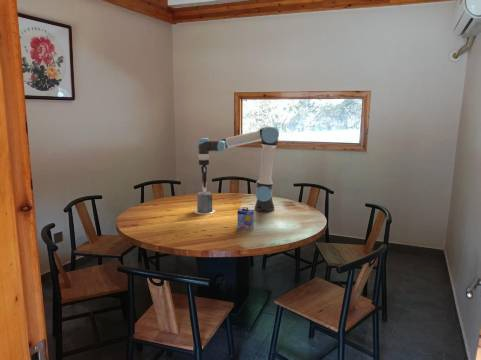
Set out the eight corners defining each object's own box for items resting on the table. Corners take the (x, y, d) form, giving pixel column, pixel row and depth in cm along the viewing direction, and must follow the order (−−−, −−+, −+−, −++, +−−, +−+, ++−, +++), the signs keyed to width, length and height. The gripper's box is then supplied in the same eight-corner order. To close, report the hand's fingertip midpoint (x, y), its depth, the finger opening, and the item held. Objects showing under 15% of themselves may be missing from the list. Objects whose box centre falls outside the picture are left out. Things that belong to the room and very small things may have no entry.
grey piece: (211, 208, 285) (211, 190, 283) (212, 213, 271) (212, 194, 269) (196, 208, 283) (196, 190, 281) (197, 213, 270) (197, 194, 267)
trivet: (214, 209, 285) (214, 208, 285) (216, 214, 270) (216, 213, 270) (193, 210, 283) (193, 209, 283) (194, 215, 267) (194, 214, 267)
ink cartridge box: (237, 229, 237) (237, 207, 234) (238, 226, 242) (238, 205, 239) (252, 230, 235) (252, 208, 232) (253, 227, 240) (253, 206, 237)
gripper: (198, 158, 277) (198, 188, 281) (199, 161, 260) (199, 193, 264) (208, 157, 278) (208, 188, 282) (209, 160, 261) (210, 193, 265)
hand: (204, 190), depth 273 cm, fingers open, 4 cm apart
